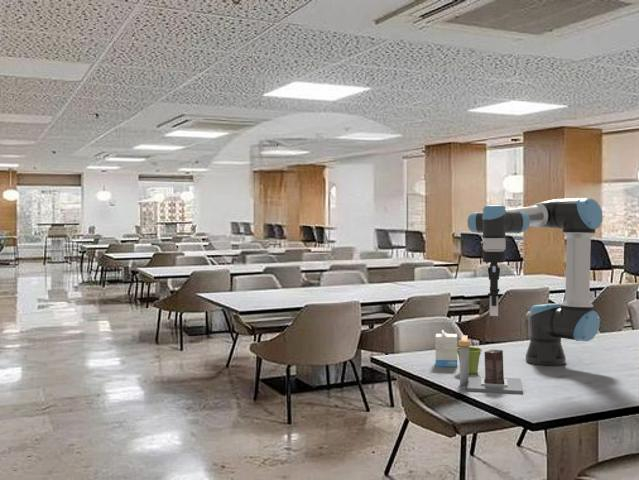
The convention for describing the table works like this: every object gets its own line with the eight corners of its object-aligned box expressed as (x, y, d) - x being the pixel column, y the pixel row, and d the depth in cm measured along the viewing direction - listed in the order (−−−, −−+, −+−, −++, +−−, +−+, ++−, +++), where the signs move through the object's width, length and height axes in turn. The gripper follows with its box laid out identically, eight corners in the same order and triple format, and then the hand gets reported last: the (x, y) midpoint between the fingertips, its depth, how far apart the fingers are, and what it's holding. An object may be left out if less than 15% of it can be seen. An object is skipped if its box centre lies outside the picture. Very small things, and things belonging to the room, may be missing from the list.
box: (492, 383, 237) (491, 348, 237) (504, 385, 234) (504, 350, 234) (484, 386, 232) (483, 351, 232) (496, 388, 229) (496, 353, 229)
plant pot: (467, 376, 248) (467, 352, 248) (451, 371, 257) (450, 348, 256) (487, 373, 253) (487, 349, 252) (470, 368, 261) (470, 345, 261)
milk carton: (457, 367, 263) (457, 332, 263) (435, 366, 265) (435, 332, 265) (457, 362, 272) (457, 329, 272) (436, 362, 274) (435, 328, 273)
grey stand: (520, 381, 240) (520, 343, 239) (522, 393, 222) (522, 353, 222) (460, 378, 245) (460, 341, 244) (458, 390, 227) (458, 351, 227)
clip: (459, 339, 247) (459, 335, 247) (470, 339, 246) (470, 335, 246) (458, 346, 234) (458, 341, 234) (470, 346, 233) (470, 342, 233)
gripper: (482, 249, 245) (482, 308, 245) (482, 252, 221) (481, 317, 221) (504, 249, 243) (504, 308, 244) (506, 252, 219) (506, 318, 219)
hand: (493, 313), depth 232 cm, fingers open, 13 cm apart
